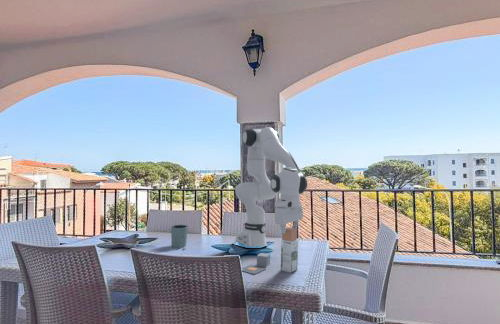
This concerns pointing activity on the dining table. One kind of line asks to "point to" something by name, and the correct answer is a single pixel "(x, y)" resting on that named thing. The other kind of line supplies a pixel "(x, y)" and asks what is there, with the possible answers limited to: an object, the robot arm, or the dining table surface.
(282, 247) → the syrup box
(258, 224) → the robot arm
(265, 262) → the grey block
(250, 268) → the board
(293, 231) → the terracotta block
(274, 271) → the dining table surface
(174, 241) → the green cup
